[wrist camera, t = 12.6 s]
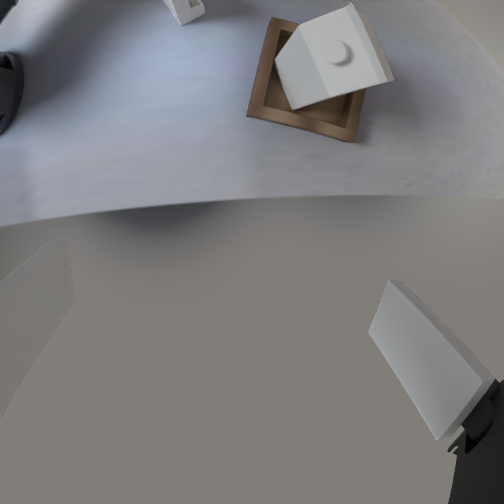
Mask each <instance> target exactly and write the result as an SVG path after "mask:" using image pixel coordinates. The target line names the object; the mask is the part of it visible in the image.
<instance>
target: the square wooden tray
mask: <svg viewBox="0 0 504 504" xmlns="http://www.w3.org/2000/svg"><path fill="white" fill-rule="evenodd" d="M299 25H300V24H297V23H293V22H290V21H286V20H282V19H278V18H274V17H272V18H271V20H270V22H269V25H268V28H267V32H266V36H265V40H264V44H263V48H262V52H261V56H260V60H259V64H258V68H257V72H256V77H255V81H254V85H253V89H252V94H251V98H250V102H249V107H248V111H247V115H246V117H251V118H256V119H260V120H265V121H269V122H273V123H278V124H282V125H286V126H290V127H294V128H298V129H302V130H305V131H309V132H313V133H316V134H320V135H323V136H327V137H330V138H333V139H337V140H340V141H343V142H350V143H354V139H355V135H356V131H357V126H358V122H359V117H360V112H361V108H362V103H363V98H364V93H365V88H364V89H361V90H357V91H354V92H351V93H347V94H344V95H341V96H337V97H334V98H330V99H327V100H324V101H320V102H317V103H314V104H311V105H308V106H305V107H302V108H299V109H296V110H292V108H291V106H290V104H289V101H288V99H287V97H286V94H285V92H284V90H283V87H282V85H281V83H280V80H279V78H278V76H277V73H276V71H275V69H274V67H273V61H274V60H275V58H276V57H277V56H278V54H279V53H280V51H281V50H282V48H283V47H284V45H285V44H286V43H287V41H288V40H289V38H290V37H291V36H292V34H293V33H294V31H295V30H296V29H297V27H298V26H299Z"/></svg>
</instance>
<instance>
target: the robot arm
mask: <svg viewBox="0 0 504 504" xmlns="http://www.w3.org/2000/svg"><path fill="white" fill-rule="evenodd" d="M17 3H18V0H0V24H1V23H2V22H3V20H4V19H5V17H6V16H7V15H8V13H9V12H10V11H11V9H12V8H13V7H15V6H16V5H17ZM23 80H24V79H23V69H22V66H21V63H20V61H19V60H18V59H17V57H15V56H14V55H12V54H9V53H5V52H0V134H1V133H2V132H3V131H4V130H5V129H6V128H7V126H8V125H9V123H10V122H11V120H12V119H13V117H14V115H15V113H16V111H17V108H18V106H19V103H20V100H21V96H22V91H23ZM74 302H75V299H74V291H73V282H72V270H71V256H70V241H67V240H61V239H53V240H51V241H50V242H49V243H48V244H46V245H45V246H44V247H42V248H41V249H40V250H38V251H37V252H36V253H34V254H33V255H32V256H31V257H29V258H28V259H27V260H26V261H25V262H23V263H22V264H21V265H20V266H18V267H17V268H16V269H15V270H14V271H12V272H11V273H10V274H9V275H8V276H7V277H5V278H4V279H3V280H2V281H1V282H0V418H2V416H3V414H4V412H5V411H6V409H7V407H8V405H9V403H10V401H11V400H12V398H13V396H14V394H15V392H16V391H17V389H18V387H19V386H20V384H21V382H22V380H23V379H24V377H25V375H26V374H27V372H28V371H29V369H30V367H31V365H32V364H33V362H34V361H35V359H36V358H37V356H38V355H39V353H40V352H41V350H42V348H43V347H44V345H45V344H46V342H47V341H48V339H49V338H50V336H51V335H52V333H53V332H54V331H55V329H56V328H57V326H58V325H59V323H60V322H61V320H62V319H63V317H64V316H65V315H66V313H67V312H68V311H69V309H70V308H71V306H72V305H73V304H74ZM368 333H369V334H370V336H371V337H372V339H373V340H374V342H375V343H376V345H377V346H378V348H379V349H380V351H381V352H382V354H383V355H384V357H385V358H386V360H387V362H388V363H389V365H390V366H391V368H392V369H393V371H394V372H395V374H396V375H397V377H398V379H399V380H400V382H401V383H402V385H403V387H404V388H405V390H406V391H407V393H408V395H409V396H410V398H411V399H412V401H413V403H414V404H415V406H416V407H417V409H418V411H419V412H420V414H421V416H422V417H423V419H424V421H425V422H426V424H427V426H428V427H429V429H430V431H431V432H432V434H433V436H434V437H435V439H436V441H440V440H443V439H446V438H448V437H451V436H452V435H453V434H454V433H455V432H456V430H457V429H458V428H459V427H460V426H461V425H462V426H463V428H464V429H465V430H464V431H463V432H462V433H461V435H460V436H459V437H458V438H457V439H456V440H455V441H454V443H453V444H452V445H451V446H450V447H449V448H448V452H450V451H451V450H452V449H453V448H454V447H455V446H458V448H457V449H456V450H455V451H454V452H453V453H454V454H456V455H457V460H456V466H455V473H454V478H453V484H452V489H451V494H450V498H449V503H448V504H504V380H502V381H501V382H500V383H499V382H498V381H497V380H496V379H495V378H496V377H495V376H494V375H493V374H492V373H491V372H490V370H489V369H488V368H487V367H486V366H485V365H484V364H483V363H482V361H481V360H480V359H479V358H478V357H477V356H476V355H475V354H474V353H473V352H472V351H471V349H470V348H469V347H468V346H467V345H466V344H465V343H464V342H463V341H462V340H461V339H460V338H459V337H458V336H457V335H456V334H455V333H454V332H453V330H451V328H450V327H449V326H447V324H446V323H445V322H444V321H442V319H441V318H440V317H439V316H438V315H437V314H436V313H435V312H434V311H433V310H432V309H431V308H430V307H429V306H428V305H427V304H425V303H424V302H423V301H422V300H421V299H420V298H419V297H418V296H417V295H416V294H415V293H414V292H413V291H412V290H411V289H410V288H409V287H408V286H407V285H405V283H403V282H402V281H397V280H388V283H387V285H386V288H385V291H384V294H383V296H382V299H381V301H380V304H379V307H378V309H377V312H376V314H375V317H374V319H373V322H372V324H371V327H370V329H369V331H368Z"/></svg>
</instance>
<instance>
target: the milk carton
mask: <svg viewBox="0 0 504 504" xmlns="http://www.w3.org/2000/svg"><path fill="white" fill-rule="evenodd" d="M273 67H274V69H275V71H276V73H277V76H278V78H279V80H280V83H281V85H282V87H283V90H284V92H285V94H286V97H287V99H288V101H289V104H290V106H291V108H292V110H296V109H299V108H302V107H305V106H308V105H311V104H314V103H317V102H320V101H324V100H327V99H330V98H334V97H337V96H341V95H344V94H347V93H351V92H354V91H357V90H361V89H364V88H368V87H372V86H375V85H379V84H383V83H387V82H391V81H395V80H394V77H393V74H392V71H391V69H390V66H389V64H388V61H387V59H386V56H385V54H384V51H383V49H382V47H381V44H380V42H379V40H378V38H377V36H376V33H375V31H374V29H373V27H372V25H371V23H370V21H369V19H368V17H367V15H366V14H365V13H363V12H360V11H357V10H356V9H355V7H354V5H353V3H349V4H348V5H347V6H346V7H344V8H341V9H338V10H335V11H333V12H330V13H327V14H325V15H322V16H320V17H317V18H315V19H312V20H310V21H307V22H305V23H303V24H300V25H299V26H298V27H297V29H296V30H295V31H294V33H293V34H292V36H291V37H290V38H289V40H288V41H287V43H286V44H285V45H284V47H283V48H282V50H281V51H280V53H279V54H278V56H277V57H276V58H275V60H274V61H273Z"/></svg>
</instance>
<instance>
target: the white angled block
mask: <svg viewBox="0 0 504 504" xmlns="http://www.w3.org/2000/svg"><path fill="white" fill-rule="evenodd" d="M163 1H164V3H165V4H166V5H167V7H168V8H169V10H170V11H171V12H172V14H173V15H174V16H175V18H176V19H177V21H178V22H179V23H180V25H181V26H183V25H185V24H187V23H188V22H190V21H192V20H194V19H196V18H198V17H200V16H202V15H204V14H205V8H204V4H203V3H202V2H201V0H163Z"/></svg>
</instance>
